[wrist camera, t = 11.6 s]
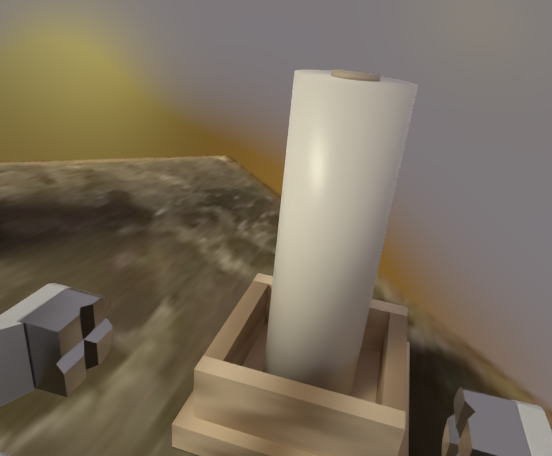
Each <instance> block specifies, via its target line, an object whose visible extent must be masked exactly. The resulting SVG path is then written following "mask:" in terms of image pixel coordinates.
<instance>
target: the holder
mask: <svg viewBox="0 0 552 456" xmlns="http://www.w3.org/2000/svg"><path fill="white" fill-rule="evenodd" d="M272 283H273V276H269V275H264V274H260V273H258V274H257V276H256V277H255V279H254V280H253V282H252V283H251V285H250V286H249V288H248V289H247V291H246V292H245V294H244V295H243V297H242V298H241V300H240V301H239V303H238V304H237V306H236V307H235V309H234V310H233V312H232V313H231V315H230V316H229V318H228V319H227V321H226V322H225V324H224V325H223V327H222V328H221V330H220V331H219V333H218V334H217V336H216V337H215V339H214V340H213V342H212V343H211V345H210V346H209V348H208V349H207V351H206V352H205V354H204V355H203V357H202V358H201V360H200V361H199V363H198V364H197V366H196V367H195V369H194V390H193V392H192V393H191V395H190V396H189V398H188V400H187V401H186V403H185V404H184V406H183V408H182V409H181V411H180V412H179V414H178V416H177V417H176V419H175V420H174V422H173V423H172V447H175V448H178V449H181V450H184V451H187V452H190V453H193V454H196V455H199V456H408V455H409V355H410V342H407V313H408V307H405V306H401V305H396V304H392V303H387V302H383V301H379V300H374V299H371V304H370V309H369V313H368V318H367V322H366V327H365V332H364V336H363V341H362V345H361V350H360V355H359V359H358V364H357V368H356V373H355V378H354V382H353V387H352V391H351V394H350V396H347V395H344V394H340V393H337V392H333V391H329V390H326V389H322V388H319V387H315V386H311V385H308V384H304V383H300V382H297V381H293V380H290V379H286V378H282V377H279V376H275V375H272V374H268V373H264V372H263V368H264V359H265V349H266V340H267V330H268V321H269V311H270V302H271V292H272Z"/></svg>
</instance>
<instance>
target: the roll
mask: <svg viewBox="0 0 552 456" xmlns="http://www.w3.org/2000/svg"><path fill="white" fill-rule="evenodd" d="M417 88H418V85H417V84H415V83H411V82H408V81H404V80H399V79H394V78H388V77H382V76H381V75H378V74H374V73H368V72H361V71H352V70H339V69H334V70H332V71H328V70H297V71H295V73H294V82H293V92H292V101H291V112H290V121H289V130H288V140H287V149H286V159H285V168H284V178H283V188H282V197H281V206H280V216H279V225H278V235H277V244H276V254H275V264H274V273H273V283H272V292H271V302H270V311H269V321H268V330H267V340H266V349H265V359H264V368H263V372H264V373H268V374H272V375H275V376H279V377H282V378H286V379H290V380H293V381H297V382H300V383H304V384H308V385H311V386H315V387H319V388H322V389H326V390H329V391H333V392H337V393H340V394H344V395H347V396H350V394H351V391H352V387H353V382H354V378H355V373H356V368H357V364H358V359H359V355H360V350H361V345H362V341H363V336H364V332H365V327H366V322H367V318H368V313H369V309H370V304H371V299H372V295H373V290H374V286H375V281H376V276H377V272H378V267H379V263H380V258H381V253H382V249H383V244H384V240H385V235H386V230H387V226H388V221H389V217H390V212H391V207H392V203H393V198H394V193H395V189H396V184H397V180H398V175H399V170H400V166H401V161H402V157H403V152H404V148H405V143H406V138H407V134H408V129H409V125H410V120H411V115H412V111H413V106H414V101H415V97H416V92H417Z"/></svg>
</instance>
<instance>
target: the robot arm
mask: <svg viewBox="0 0 552 456" xmlns="http://www.w3.org/2000/svg"><path fill="white" fill-rule="evenodd" d="M111 313H112V309H111V301H110V300H109V299H108V298H107V297H104V296H101V295H97V294H94V293H90V292H86V291H83V290H79V289H76V288H71V287H68V286H64V285H60V284H57V283H52V284H47V285H46V286H44V287H43V288H41V289H40V290H38V291H37V292H35V293H33V294H32V295H30V296H29V297H27V298H26V299H24V300H23V301H21V302H20V303H18V304H17V305H15V306H14V307H12V308H10V309H9V310H7V311H6V312H4V313H3V314H1V315H0V407H1V406H3V405H5V404H7V403H9V402H11V401H13V400H15V399H17V398H19V397H21V396H23V395H25V394H27V393H29V392H31V391H33V390H34V388H36V389H40V390H44V391H47V392H51V393H54V394H58V395H61V396H65V397H68V396H69V394H70V393H71V392H72V391H73V390H74V389H75V388H76V387H77V386H78V385H79V384H80V383H81V382H82V381H83V380H84V379H85V378H86V374H87V369H89V368H92V367H94V366H97V365H99V364H100V363H101V362H102V361H103V359H104V358H105V357H106V356H107V354H108V352H109V350H110V348H111V346H112V342H113V336H114V335H113V327H112V325H111V324H110V322H109V321H108V319H107V318H108V317H109V315H110V314H111ZM453 404H454V413H455V414H454V415H452V416H450V417H449V418H448V419H447V422H446V426H445V429H444V434H443V441H442V456H552V430H551V427H550V425H549V422H548V419H547V417H546V414H545V411H544V410H543V409H542V408H541V407H540V406H538V405H534V404H529V403H525V402H521V401H516V400H509V399H505V398H501V397H497V396H493V395H489V394H485V393H481V392H477V391H473V390H469V389H465V388H461V387H460V388H459V389H458V391H457V393H456V395H455V398H454V401H453ZM0 456H11V455H9V454H6V453H3V452H0Z"/></svg>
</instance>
